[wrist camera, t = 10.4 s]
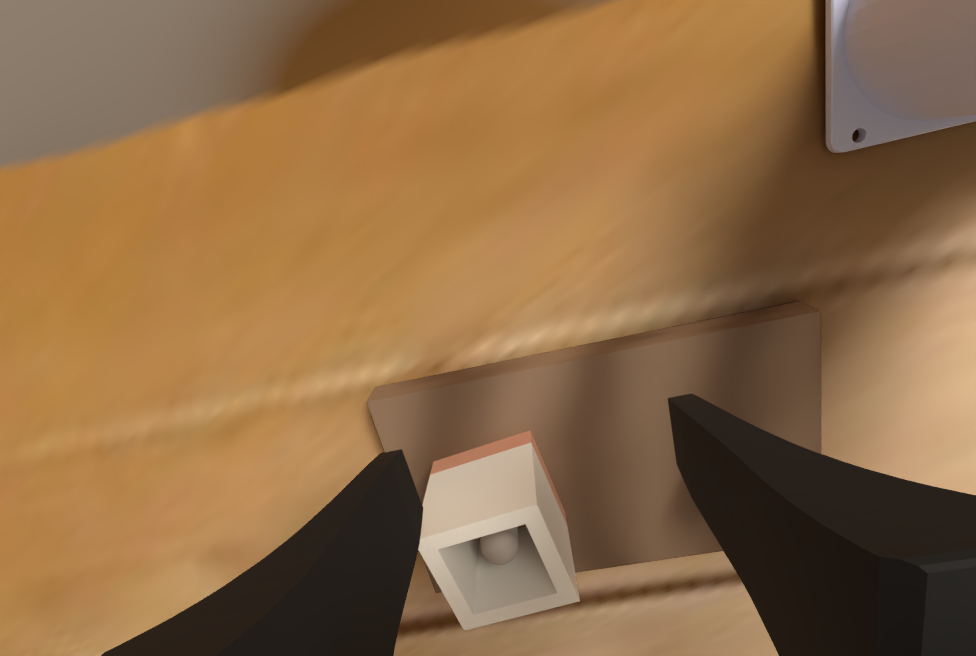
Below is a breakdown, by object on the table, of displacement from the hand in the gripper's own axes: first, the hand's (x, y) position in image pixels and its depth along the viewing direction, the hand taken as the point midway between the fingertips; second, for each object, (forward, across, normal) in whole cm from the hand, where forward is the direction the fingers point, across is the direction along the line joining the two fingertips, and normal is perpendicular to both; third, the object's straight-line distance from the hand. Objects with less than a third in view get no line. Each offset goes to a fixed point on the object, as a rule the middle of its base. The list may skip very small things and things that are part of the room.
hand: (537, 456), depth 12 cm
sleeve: (+8, +3, +7) cm, 11 cm away
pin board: (+10, -2, +7) cm, 12 cm away
